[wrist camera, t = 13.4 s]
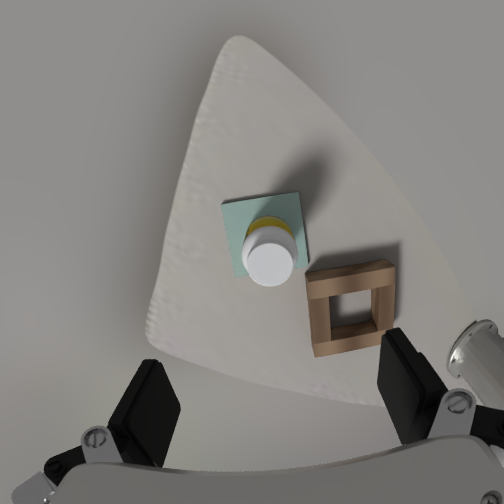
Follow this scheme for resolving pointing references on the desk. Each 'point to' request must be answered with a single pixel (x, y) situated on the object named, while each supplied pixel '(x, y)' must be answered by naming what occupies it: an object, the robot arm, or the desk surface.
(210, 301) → the desk surface
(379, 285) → the can holder
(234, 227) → the coaster plate
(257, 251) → the supplement bottle
